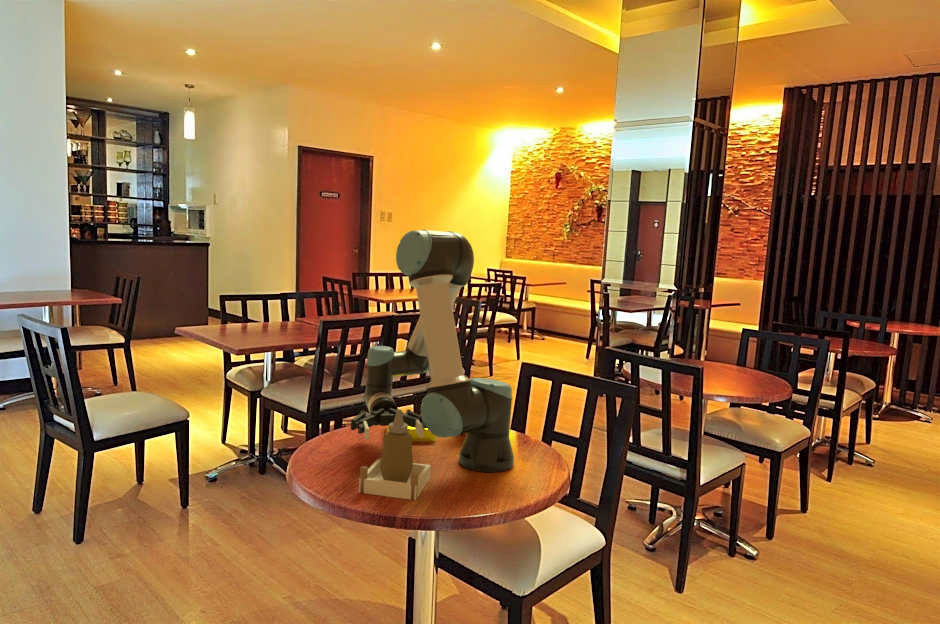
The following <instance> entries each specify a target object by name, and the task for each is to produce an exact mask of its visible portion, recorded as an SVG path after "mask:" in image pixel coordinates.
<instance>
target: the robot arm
mask: <svg viewBox="0 0 940 624" xmlns="http://www.w3.org/2000/svg"><path fill="white" fill-rule="evenodd" d="M474 255H475V254H474V250H473V247H472V244H471V243H470V241H469V240H468V239H467V238H466V237H465V236H464V235H462V234H461V233H458V232H456V231H442V230H430V229H429V230H428V229H419V230H415V229H414V230H410V231H408V232H406V233H405V234H404V235H403V236H402V237H401V239H400V241H399V243H398V245H397V248H396V251H395V260H396V262H395V263H396V265H397V266H396V267H397V269H398V270H399V271H400V272H401V273H402V274H403V275H406V276H407V277H408V284H409V286H411V287H412V288H413V289H415V291H416V297H417V302H418V308H419V309H418V310H419V315H420V316H419V318H418V319H417V322H416V325H415V326H414V330H413V331H412V334H411V337H410V339H409V341H408V343H407V346H406V348H405V350H402V351H401V350H399V351H394V349H393V348H392V347H390V346H385V345H375V346H371V347H369V348H368V351H367V359H366V383H365V391H364V394H363V395H364V396H363V401H364V403H365V405H366V407H367V409H368V412H369V413H368V412H367V411H366V410H360V413H359V414H357V415H356V416H354V417H353V418H352V419H351V420H350V430H351V431H355V430H357V434H363V436H364V439H365V441H367V440H370V427H371V428H372V426H376V427H377V426H380V427H387V426H388V425H389V424H390V423H392V422H394V419H395V415H396V411H397V410H398V409H399V408H398V405H397V404H396V401H395V400H394V399H393V397H392V393H393V390H392V389H393V380H394V378H400V377H405V376H406V377H407V376H414V375H422V374H424V373H428V372H429V375H430V381H429V382H428V384H427V385H426V395H425V396H424V397H423V398H422V400H421V403H420V409H419V410H420V414H419V413H416V412H414V411H412V410H411V409H406V411H405V412H403V411H402V415H403V421H404V423H406V424H408V426H410V427H413V428H415V430H416V432H417V434H418V435H419V437H420V438H423V431H425V428H427V429H428V430H429V431H431V433H432V434H434V435H435V436H437V438H441V439H442V438H443V439H445V438H446V439H447V438H452V437H459V435H461V434H464V433H467V435H465V438H464V441H463V443H462V445H461V447H460V450H459V455H458V463H459V464H460V465H461V466H462V467H464V468H466V469H469V470H472V471H476V472H482V473H483V472H484V473H498V472H499V473H500V472H505V471H508V470H510V469H511V468H513V466H514V463H515V462H514V461H515V457H514V456H515V455H514V451H513V447H512V444H511V440H510V427H511V414H512V403H513V395H512V394H513V390H512V389H513V388H512V387H511V384H509V383H507V382H504V381H501V380H498V379H497V380H496V379H492V378H483V377H473V378H469V377H468V376H466V375H465V373H464V369H463V363H462V358H461V352H460V345H459V340H458V335H457V328H456V321H455V316H454V311H453V309H454V308H453V307H454V304H455V302H456V300H457V298H458V295H459V293H460V291H461V289H462V287H465V286H466V285H468V282H469V280H470V279H471V275H472V273H473V269H474V264H475V256H474Z"/></svg>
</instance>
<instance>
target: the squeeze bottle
mask: <svg viewBox="0 0 940 624" xmlns="http://www.w3.org/2000/svg"><path fill="white" fill-rule="evenodd" d="M402 412H403V410H402V409H399V408H398V410H397V411H396V415H395V419H394V422H392V423H390V424H389V431H388V432H387V431H386V432H385V433H384V438H383V444H382V451H381V457H380V459H381V463H380V470H381V473H382V476H383V480H388V481H396V482H404V483H406V482H407V481H408V479H409V476H410V474H411V471H412V468H413V463H414V462H413V444H412V442H411V434H410V433H408V424H406V423H404V421H403V415H402Z"/></svg>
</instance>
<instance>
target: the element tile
mask: <svg viewBox="0 0 940 624" xmlns="http://www.w3.org/2000/svg"><path fill="white" fill-rule="evenodd" d="M388 431H389V425H388V426H386V433H387V432H388ZM408 433H410V434H411V442H413V441H414V442H415V443H417V442H418V443H434V441H435V442H437V438H438V437H437V436H435V435H434V434H432V433H431V431H429V430H428V429H427V428H425V431H423V438H420V437H419V435H418V434H417V432H416V430H415V428H413V427H410V426H408ZM414 442H413V443H414Z"/></svg>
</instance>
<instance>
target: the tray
mask: <svg viewBox="0 0 940 624" xmlns="http://www.w3.org/2000/svg"><path fill="white" fill-rule="evenodd" d="M380 463H381V458H377V459H376V460H375V461H374V463H372V465H370V467H368V466H367V465H366V466H365V465H363V466H360V467H359V478H358V480H359V481H358V493H359V494H365V495H366V494H367V495H372V496H373V495H374V496H381V497H389V498H395V499H405V500H411V501H416V500H418V498H419V496H420V495H421V493H422V491H423V489H425V486H426V485H427V484H428V482H429V481H430V479H431V470H432V469H431V467H432V465H430V464H424V463H417V462H413V468H412V471H411V474H410V476H409V479H408V481H407V482H406V483H404V482H396V481H388V480H383V476H382V473H381V470H380Z"/></svg>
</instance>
